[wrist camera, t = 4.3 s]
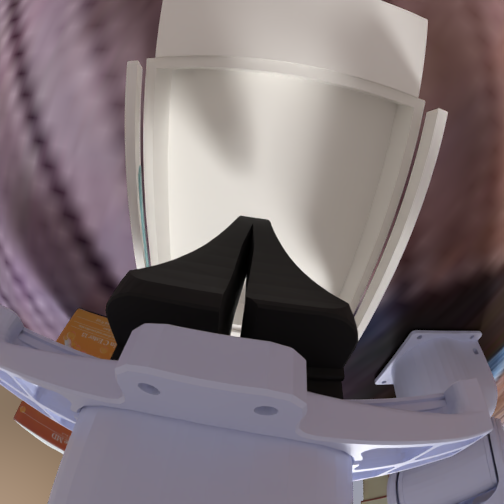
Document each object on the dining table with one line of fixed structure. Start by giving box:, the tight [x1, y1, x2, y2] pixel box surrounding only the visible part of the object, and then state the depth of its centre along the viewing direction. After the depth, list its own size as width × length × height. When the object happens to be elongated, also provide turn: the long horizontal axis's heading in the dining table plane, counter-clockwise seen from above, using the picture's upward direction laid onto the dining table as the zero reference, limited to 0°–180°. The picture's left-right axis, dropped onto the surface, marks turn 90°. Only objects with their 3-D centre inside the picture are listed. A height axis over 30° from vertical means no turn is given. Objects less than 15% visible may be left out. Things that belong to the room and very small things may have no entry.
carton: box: [143, 0, 428, 337], centre depth 14 cm, size 12×23×2 cm, turn 174°
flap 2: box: [354, 108, 448, 341], centre depth 11 cm, size 4×14×1 cm
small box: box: [14, 308, 117, 454], centre depth 18 cm, size 8×6×13 cm
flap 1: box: [125, 60, 149, 269], centre depth 11 cm, size 4×14×1 cm
